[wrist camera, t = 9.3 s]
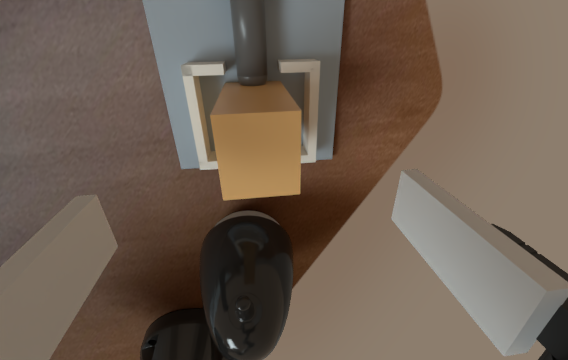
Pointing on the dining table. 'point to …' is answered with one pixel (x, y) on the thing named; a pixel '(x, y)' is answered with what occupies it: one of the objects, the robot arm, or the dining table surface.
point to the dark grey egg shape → (246, 284)
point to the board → (222, 69)
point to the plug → (255, 118)
